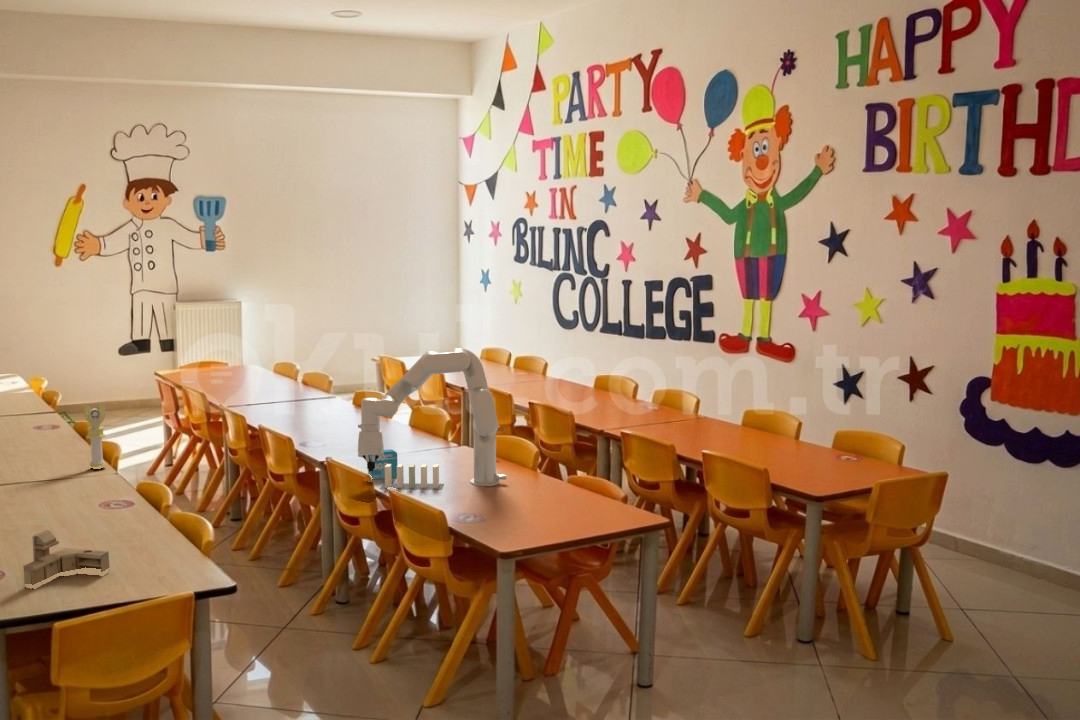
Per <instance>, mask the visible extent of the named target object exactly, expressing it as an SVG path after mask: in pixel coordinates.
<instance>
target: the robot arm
mask: <svg viewBox="0 0 1080 720" xmlns="http://www.w3.org/2000/svg"><path fill="white" fill-rule="evenodd" d="M460 372H463V376H464V379H465V382H466V383H465V384H466V387H467V392H468V401H469V403H470V406H471V410H472V416H473V418H472V429H473V431H472V433H473V478H471V479H470V480H469V483H470V484H471V485H473V486H478V487H494V486H498V485H499V484H500V482H501V481H507V479H508V477H507V474H499V473H498V471H497V431H498V428H499V421H498V420H499V419H498V415H497V411H496V405H495V401H494V398H493V395H492V392H491V391H490V389H489V386H488V382H487V377H486V374H485V369H484V365H483V363H482V362H481V360H480V359H479V357H478V356H477V355H476V354H475V353H473V352H472V351H470V350H468V349H466V348H462V347H457V348H456V347H455V348H453V349H452V350H451V351H450V352H440V353H439V352H437V351H435V350H428V351H426V352H425V353H424V354H423V355H422V356H420V358H419V359H418V360H417V361H416V362H415V363H414V364H413V365H412V366H411V367H410V368H409V369H408V371H406V372H405V374H404V375H403V376H401V378H399V380H397V382H396V383H395V384H393V386H392V387H391V388H390V389H389V390H388V391H386V393H385V394H384V395H383V396H382V397H381V399H378V398H377V397H364V398H363V399H361V402H360V406H361V407H360V411H361V413H360V414H361V415H360V416H361V418H360V419H361V420H360V424H357V428H358V429H360V430H359V433H358V437H357V438H358V440H357V442H358V443H357V456H358V457H359V458H363V459H364V460H365V461H366V469H367V470H368V469H369V471H373V470H374V469H375V460H376V459H377V458H380V457H383V456H384V453H383V450H384V439H383V438H384V437H383V432H382V430H381V426H380V425H381V424H380V423H381V422H380V419H381V418H380V417H393V416H394V415H396V414H397V412H399V411H398V410H399V406H400V405H401V404H402V403H403V402H404V401H405V399H407V398H408V397H409V396H411V394H413V393H414V392H417V391H418V390H420V389H421V388H422V387H423V386H424V384H425V383H426V382H427V381H428V380H429V379H430V378H431V377H432V376H433V375H435V374H436V375H438V374H439V375H441V374H450V373H460ZM370 455H373V456H372V460H371V459H370ZM500 480H501V481H500Z"/></svg>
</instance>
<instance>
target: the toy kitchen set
mask: <svg viewBox="0 0 1080 720" xmlns="http://www.w3.org/2000/svg"><path fill="white" fill-rule="evenodd" d="M59 543H60V540H57V536H55V534H54V533H53V532H52V531H51V530H48V529H46V530H44V531H43V530H42V531H41V532H39V533H36V534H34V535H32V556H33V561H31V562H28V563H27V564H24V565H23V579H24V580H23V581H24V583H23V585H24V584H32V585H34V584H36V583H38V582H41V581H42V580H45V579H47V578H49V577H51V576H53V575H55V574H57V573H60V572H65V571H70V570H75V569H81V568H85V567H86V568H96V569H101V572H103V571H105V570H106V569H108V568H110V554H109V551H106V550H96V549H86V548H85V549H82V548H71V547H63V548H61V549H59V550H56V551H54V552H52V553H51V552H50V548H52V547H54V546H56V545H59Z"/></svg>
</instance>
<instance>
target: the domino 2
mask: <svg viewBox="0 0 1080 720" xmlns="http://www.w3.org/2000/svg"><path fill="white" fill-rule="evenodd" d="M404 482H405V481H404V463H403V464H402V463H397V477H396V483H397V488H402V487H403V485H404Z"/></svg>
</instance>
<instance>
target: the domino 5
mask: <svg viewBox="0 0 1080 720" xmlns="http://www.w3.org/2000/svg"><path fill="white" fill-rule="evenodd" d="M432 484H433V488H438V486H439V484H440V464H438V463H437V464H436V463H435V464H433V465H432Z"/></svg>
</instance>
